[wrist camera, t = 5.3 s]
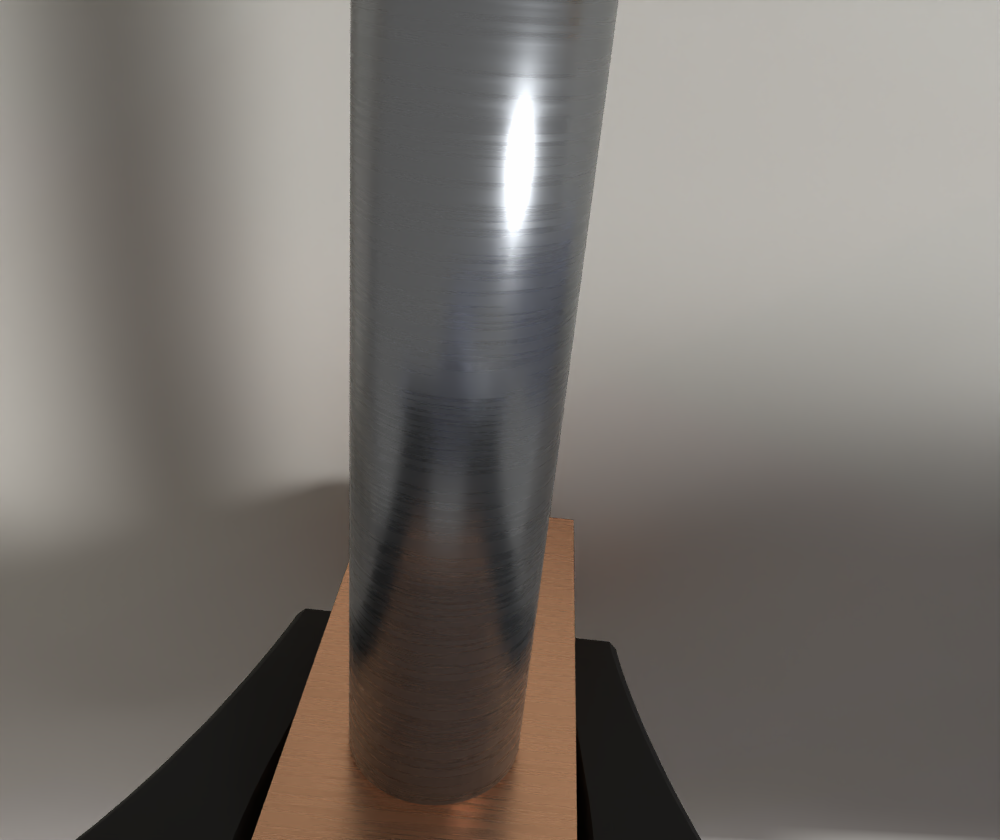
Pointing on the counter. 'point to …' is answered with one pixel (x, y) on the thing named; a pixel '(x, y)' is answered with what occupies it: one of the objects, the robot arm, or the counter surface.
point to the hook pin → (455, 431)
